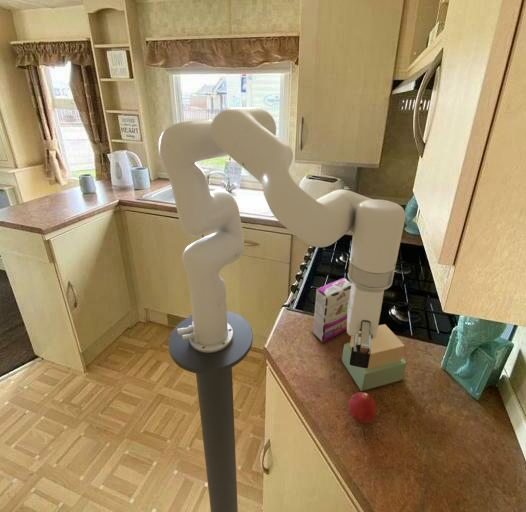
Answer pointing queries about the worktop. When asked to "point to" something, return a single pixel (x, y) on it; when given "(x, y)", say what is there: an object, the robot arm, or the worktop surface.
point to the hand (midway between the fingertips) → (358, 346)
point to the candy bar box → (331, 309)
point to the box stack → (378, 360)
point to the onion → (362, 407)
